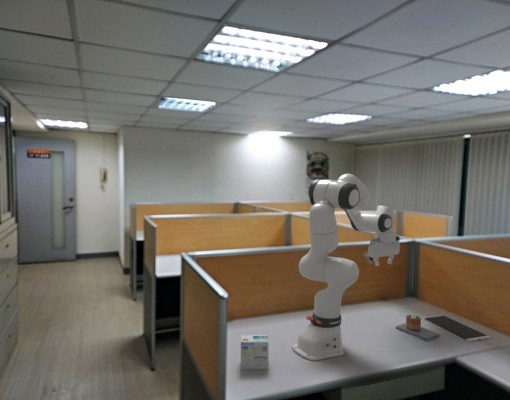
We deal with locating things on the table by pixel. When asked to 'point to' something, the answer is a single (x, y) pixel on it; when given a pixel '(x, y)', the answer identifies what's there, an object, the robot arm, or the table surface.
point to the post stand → (418, 331)
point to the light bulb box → (254, 352)
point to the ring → (413, 322)
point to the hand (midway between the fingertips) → (383, 264)
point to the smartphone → (456, 328)
